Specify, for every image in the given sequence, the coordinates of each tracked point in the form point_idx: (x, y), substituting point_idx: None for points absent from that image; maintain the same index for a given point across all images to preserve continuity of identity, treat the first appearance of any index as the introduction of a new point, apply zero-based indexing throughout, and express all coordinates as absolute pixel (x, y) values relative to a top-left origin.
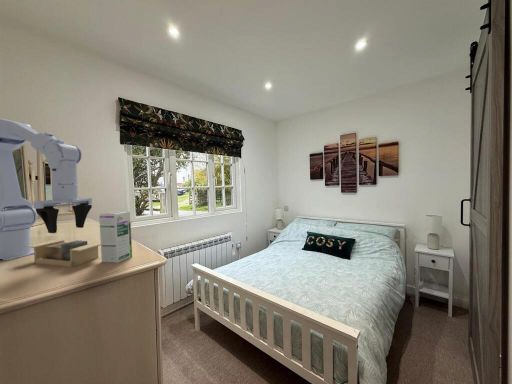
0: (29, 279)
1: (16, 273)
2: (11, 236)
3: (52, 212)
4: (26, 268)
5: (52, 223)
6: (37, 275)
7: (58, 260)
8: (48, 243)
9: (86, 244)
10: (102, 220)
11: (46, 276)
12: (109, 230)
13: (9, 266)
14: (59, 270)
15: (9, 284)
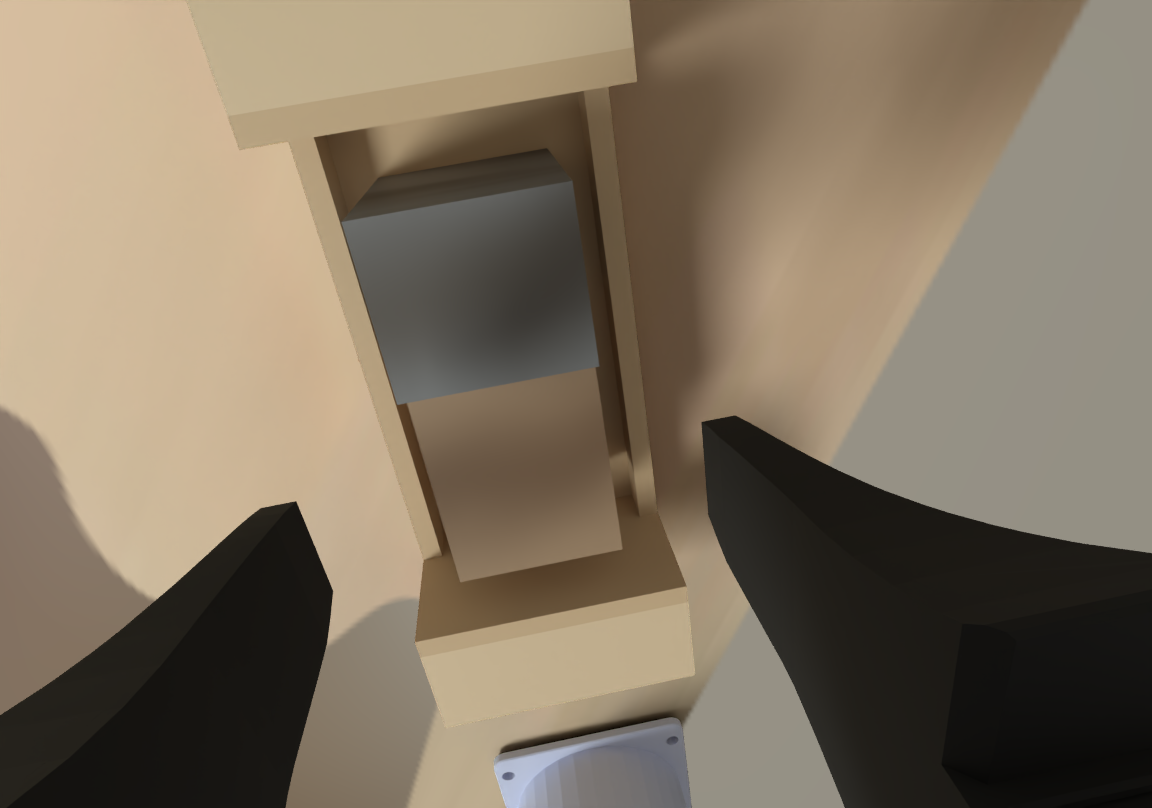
0: (894, 96)
1: (821, 369)
2: None
3: (1082, 562)
4: None
5: (844, 477)
6: (818, 145)
7: (620, 270)
8: (564, 622)
9: (364, 208)
10: None
11: (819, 24)
12: None
13: (738, 584)
14: (685, 91)
15: (991, 127)
